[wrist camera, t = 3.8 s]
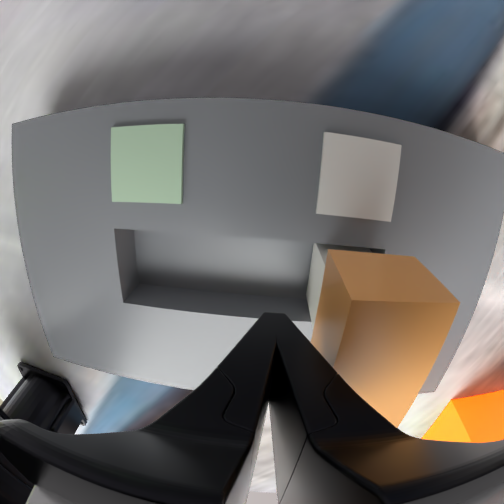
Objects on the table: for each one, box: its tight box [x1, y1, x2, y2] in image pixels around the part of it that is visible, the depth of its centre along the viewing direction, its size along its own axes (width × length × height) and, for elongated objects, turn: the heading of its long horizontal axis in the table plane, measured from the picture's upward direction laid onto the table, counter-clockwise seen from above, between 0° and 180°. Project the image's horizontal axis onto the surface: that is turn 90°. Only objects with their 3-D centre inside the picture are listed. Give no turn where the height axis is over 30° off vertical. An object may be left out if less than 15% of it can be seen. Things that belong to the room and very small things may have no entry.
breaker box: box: [12, 98, 504, 394], centre depth 13 cm, size 24×14×3 cm, turn 87°
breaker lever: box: [306, 243, 460, 428], centre depth 10 cm, size 3×5×7 cm, turn 177°
